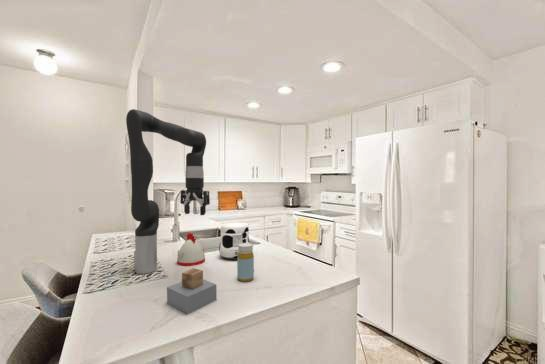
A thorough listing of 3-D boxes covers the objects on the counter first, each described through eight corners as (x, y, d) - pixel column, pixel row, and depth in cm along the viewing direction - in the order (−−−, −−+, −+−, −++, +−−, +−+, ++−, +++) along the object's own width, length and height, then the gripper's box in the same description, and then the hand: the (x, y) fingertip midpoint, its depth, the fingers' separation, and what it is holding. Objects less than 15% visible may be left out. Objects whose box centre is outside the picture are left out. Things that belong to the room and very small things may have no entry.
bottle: (234, 279, 109) (234, 244, 109) (246, 274, 114) (246, 241, 114) (244, 283, 104) (244, 247, 104) (257, 278, 109) (256, 244, 109)
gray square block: (167, 304, 88) (166, 287, 88) (195, 291, 98) (195, 276, 98) (187, 315, 81) (187, 296, 81) (216, 300, 91) (216, 284, 90)
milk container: (232, 250, 153) (232, 220, 153) (256, 254, 144) (256, 223, 144) (212, 258, 138) (212, 225, 138) (237, 263, 129) (237, 228, 129)
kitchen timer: (196, 256, 142) (196, 229, 142) (209, 261, 133) (209, 233, 133) (172, 262, 132) (172, 233, 132) (185, 268, 123) (184, 237, 123)
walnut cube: (182, 286, 88) (181, 272, 88) (192, 281, 93) (192, 268, 93) (192, 289, 86) (192, 275, 86) (203, 284, 90) (202, 270, 90)
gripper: (175, 177, 109) (175, 214, 109) (201, 176, 103) (201, 216, 103) (188, 177, 115) (188, 212, 116) (213, 177, 109) (213, 214, 110)
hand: (194, 214), depth 109 cm, fingers open, 8 cm apart
